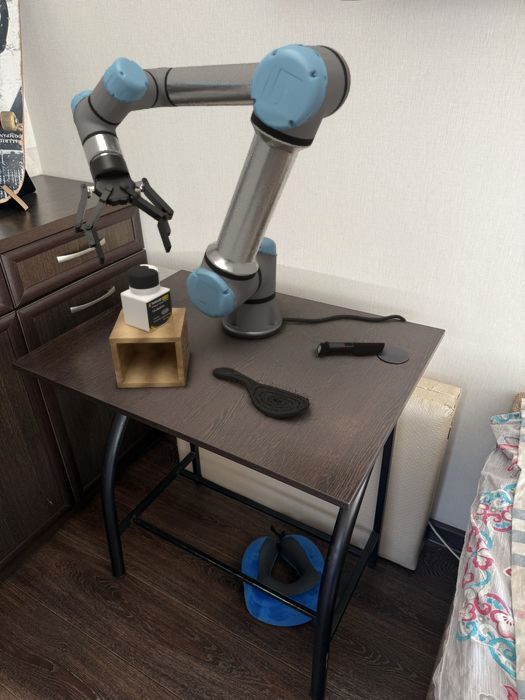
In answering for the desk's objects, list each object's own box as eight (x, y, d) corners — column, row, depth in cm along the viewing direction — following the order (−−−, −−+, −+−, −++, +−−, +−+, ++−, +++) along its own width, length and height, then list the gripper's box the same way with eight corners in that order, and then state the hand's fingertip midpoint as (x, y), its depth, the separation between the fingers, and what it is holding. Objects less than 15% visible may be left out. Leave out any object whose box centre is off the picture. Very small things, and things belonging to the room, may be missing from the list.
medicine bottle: (150, 333, 100) (143, 277, 94) (124, 324, 103) (115, 270, 97) (173, 319, 105) (168, 265, 99) (148, 311, 108) (141, 258, 102)
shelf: (189, 353, 116) (185, 307, 110) (185, 386, 105) (180, 336, 99) (129, 355, 116) (121, 308, 109) (117, 388, 104) (108, 338, 98)
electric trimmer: (384, 358, 115) (386, 346, 113) (317, 358, 115) (318, 346, 113) (381, 350, 118) (383, 338, 117) (316, 349, 118) (317, 338, 116)
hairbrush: (226, 353, 111) (319, 392, 96) (228, 367, 113) (318, 408, 98) (199, 369, 106) (292, 413, 91) (201, 383, 107) (292, 429, 93)
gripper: (162, 169, 112) (190, 253, 109) (44, 180, 102) (72, 274, 99) (167, 147, 106) (198, 236, 102) (42, 157, 96) (72, 257, 92)
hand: (136, 255), depth 100 cm, fingers open, 13 cm apart
